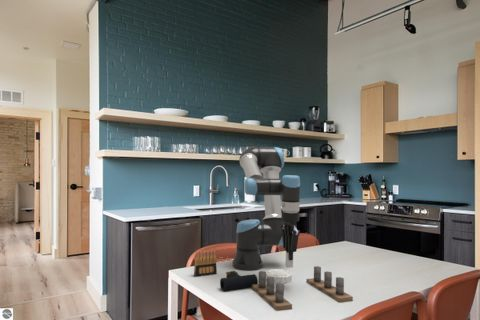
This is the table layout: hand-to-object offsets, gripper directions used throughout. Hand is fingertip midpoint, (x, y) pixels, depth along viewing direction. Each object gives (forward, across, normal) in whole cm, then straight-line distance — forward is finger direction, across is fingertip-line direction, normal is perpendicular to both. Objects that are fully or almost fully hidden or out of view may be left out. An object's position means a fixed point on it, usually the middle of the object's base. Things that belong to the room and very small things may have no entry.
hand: (289, 266), depth 147 cm
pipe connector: (+9, -7, -21) cm, 24 cm away
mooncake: (+9, -10, 0) cm, 13 cm away
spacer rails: (+8, +10, 0) cm, 13 cm away
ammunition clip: (+9, -25, -30) cm, 40 cm away
